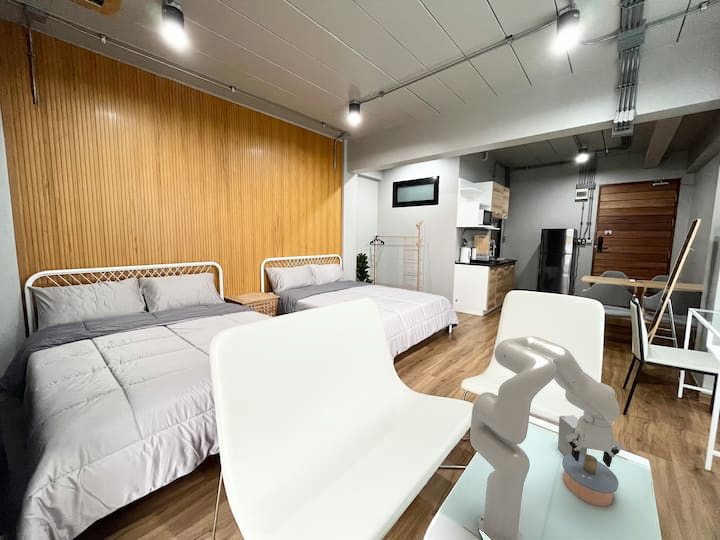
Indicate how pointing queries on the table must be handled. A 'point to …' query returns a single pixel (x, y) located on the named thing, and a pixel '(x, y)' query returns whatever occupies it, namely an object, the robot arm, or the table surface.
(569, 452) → the skincare box
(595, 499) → the bowl
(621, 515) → the table surface
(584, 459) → the lid
